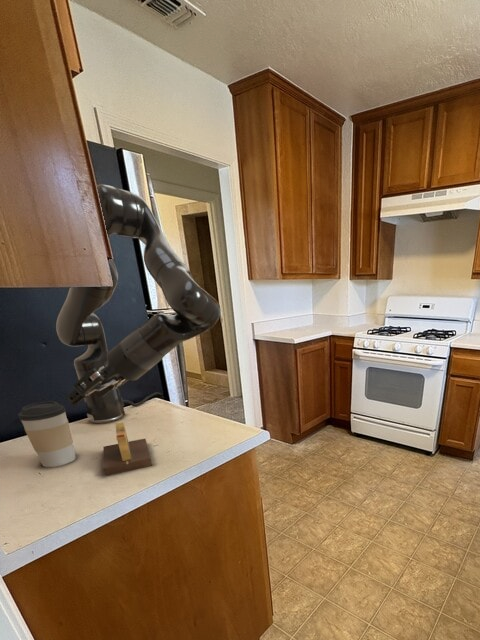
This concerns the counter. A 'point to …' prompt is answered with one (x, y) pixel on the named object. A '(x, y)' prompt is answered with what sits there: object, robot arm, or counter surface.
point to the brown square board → (117, 465)
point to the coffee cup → (48, 432)
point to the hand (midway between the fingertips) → (84, 398)
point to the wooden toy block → (123, 441)
